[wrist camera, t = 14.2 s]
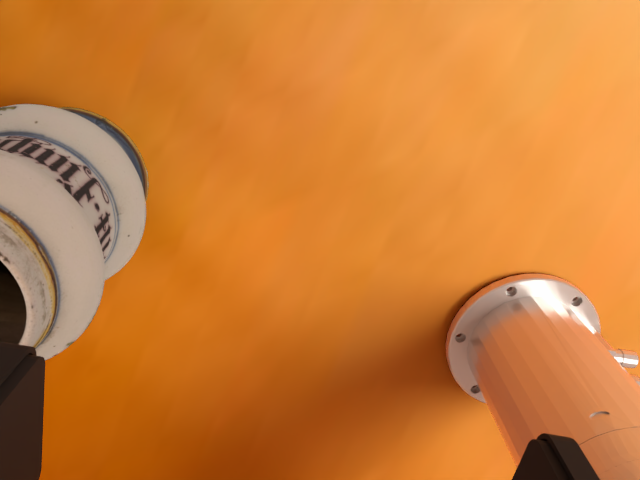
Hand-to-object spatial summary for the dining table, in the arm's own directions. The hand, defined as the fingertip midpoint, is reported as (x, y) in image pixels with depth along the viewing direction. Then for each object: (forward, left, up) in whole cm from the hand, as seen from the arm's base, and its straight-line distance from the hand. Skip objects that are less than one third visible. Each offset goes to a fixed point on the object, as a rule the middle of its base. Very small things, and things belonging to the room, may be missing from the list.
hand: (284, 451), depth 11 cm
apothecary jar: (+14, +6, -31) cm, 34 cm away
